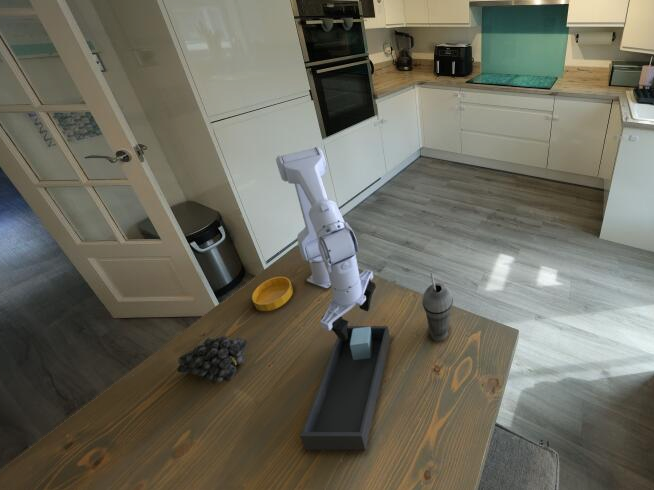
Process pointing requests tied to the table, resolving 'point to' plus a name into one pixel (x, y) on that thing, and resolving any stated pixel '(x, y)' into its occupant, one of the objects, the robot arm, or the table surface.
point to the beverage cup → (437, 309)
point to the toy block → (361, 343)
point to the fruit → (214, 359)
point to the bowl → (272, 293)
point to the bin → (346, 396)
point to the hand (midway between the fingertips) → (354, 322)
